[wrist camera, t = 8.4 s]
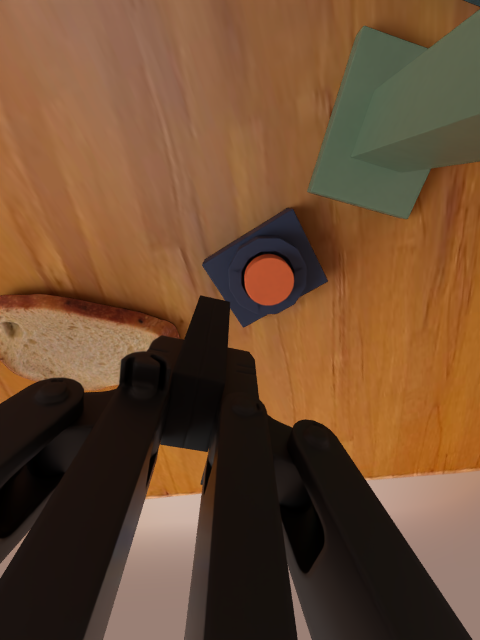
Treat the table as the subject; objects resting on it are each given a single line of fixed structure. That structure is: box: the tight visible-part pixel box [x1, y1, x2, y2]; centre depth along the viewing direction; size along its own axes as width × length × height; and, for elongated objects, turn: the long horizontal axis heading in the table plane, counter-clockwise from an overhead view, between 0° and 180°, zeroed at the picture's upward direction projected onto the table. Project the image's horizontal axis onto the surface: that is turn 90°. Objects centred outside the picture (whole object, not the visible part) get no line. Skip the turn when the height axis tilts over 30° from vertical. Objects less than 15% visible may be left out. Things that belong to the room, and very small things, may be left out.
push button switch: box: [202, 208, 328, 327], centre depth 28 cm, size 10×8×4 cm
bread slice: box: [0, 294, 179, 390], centre depth 32 cm, size 18×18×4 cm
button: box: [244, 254, 294, 305], centre depth 26 cm, size 4×4×2 cm
